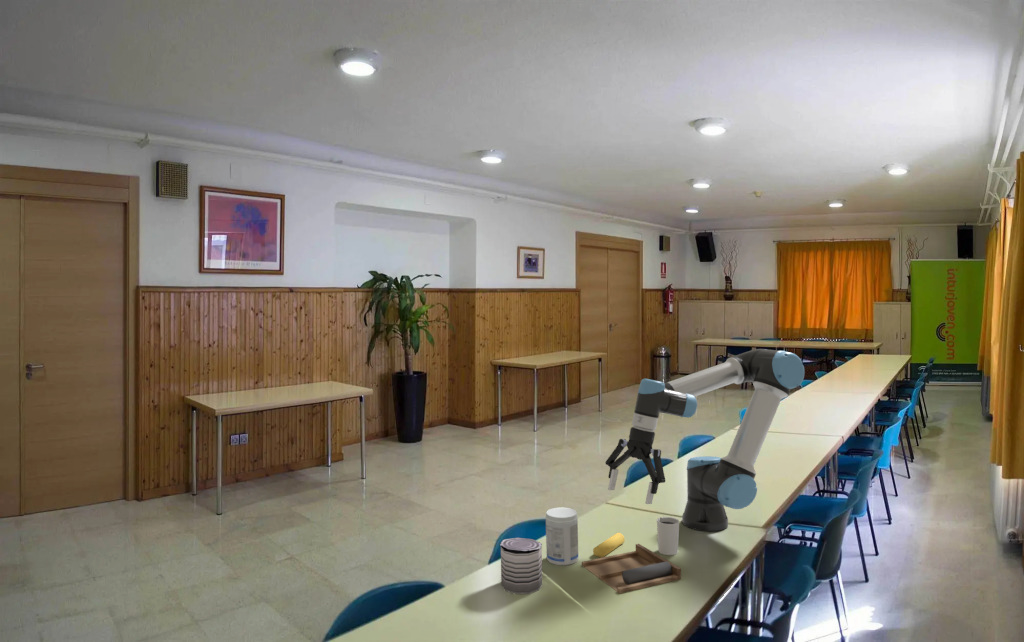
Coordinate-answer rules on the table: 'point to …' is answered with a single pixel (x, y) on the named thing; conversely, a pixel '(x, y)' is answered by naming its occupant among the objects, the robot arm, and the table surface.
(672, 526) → the white cup
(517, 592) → the can
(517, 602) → the table surface
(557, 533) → the supplement tub
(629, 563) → the walnut slot rack
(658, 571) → the charcoal rod
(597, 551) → the ochre rod
